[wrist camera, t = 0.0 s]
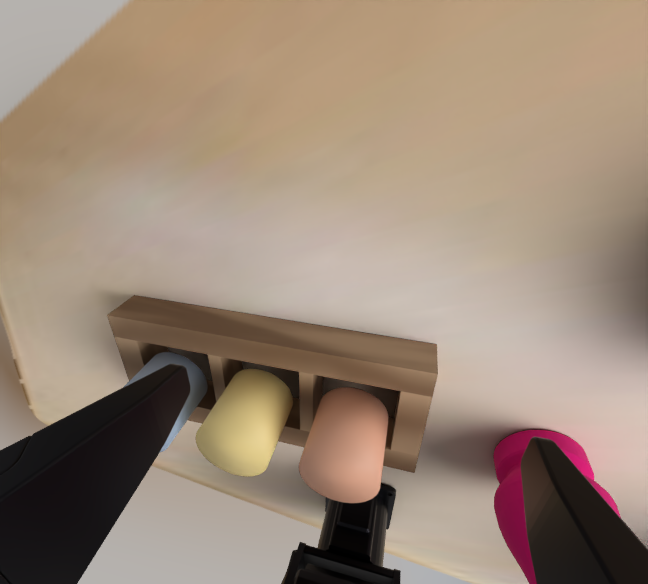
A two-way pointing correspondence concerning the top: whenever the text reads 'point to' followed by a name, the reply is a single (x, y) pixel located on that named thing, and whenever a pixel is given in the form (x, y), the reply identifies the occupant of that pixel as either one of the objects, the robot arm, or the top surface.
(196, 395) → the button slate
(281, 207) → the top surface
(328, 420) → the salmon rounded lump
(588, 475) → the pepper mill
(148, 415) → the robot arm
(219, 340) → the wooden compartment tray
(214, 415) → the button ochre
